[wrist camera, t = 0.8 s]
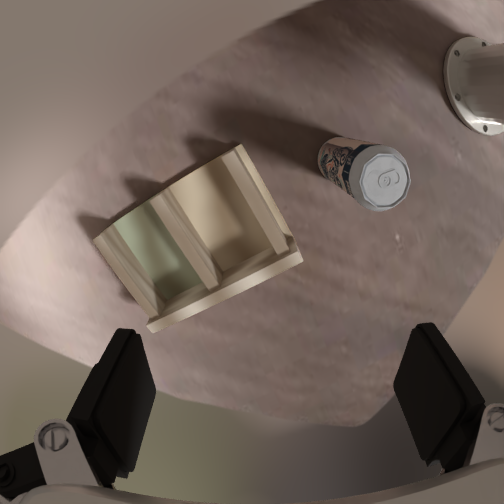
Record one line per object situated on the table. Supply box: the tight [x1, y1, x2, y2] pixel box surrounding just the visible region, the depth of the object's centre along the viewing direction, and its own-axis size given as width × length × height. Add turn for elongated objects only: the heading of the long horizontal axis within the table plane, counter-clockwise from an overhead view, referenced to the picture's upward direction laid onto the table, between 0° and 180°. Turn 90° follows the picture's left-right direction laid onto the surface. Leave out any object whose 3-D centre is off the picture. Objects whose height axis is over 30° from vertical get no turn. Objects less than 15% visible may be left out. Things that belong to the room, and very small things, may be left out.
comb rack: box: [93, 144, 303, 333], centre depth 31 cm, size 18×12×5 cm, turn 119°
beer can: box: [318, 137, 411, 211], centre depth 25 cm, size 5×5×12 cm
